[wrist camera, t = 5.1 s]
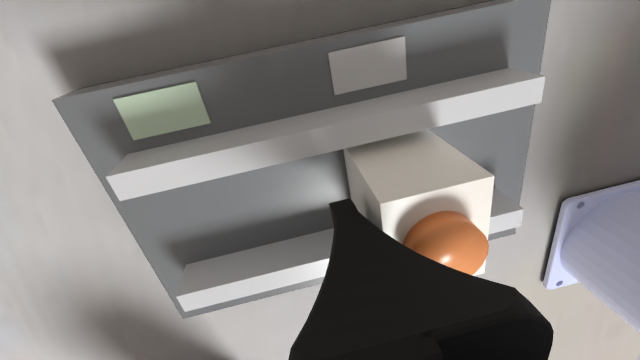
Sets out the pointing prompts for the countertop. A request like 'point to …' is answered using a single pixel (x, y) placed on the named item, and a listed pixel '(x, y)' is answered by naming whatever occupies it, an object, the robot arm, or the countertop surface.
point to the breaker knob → (424, 197)
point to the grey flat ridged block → (302, 141)
